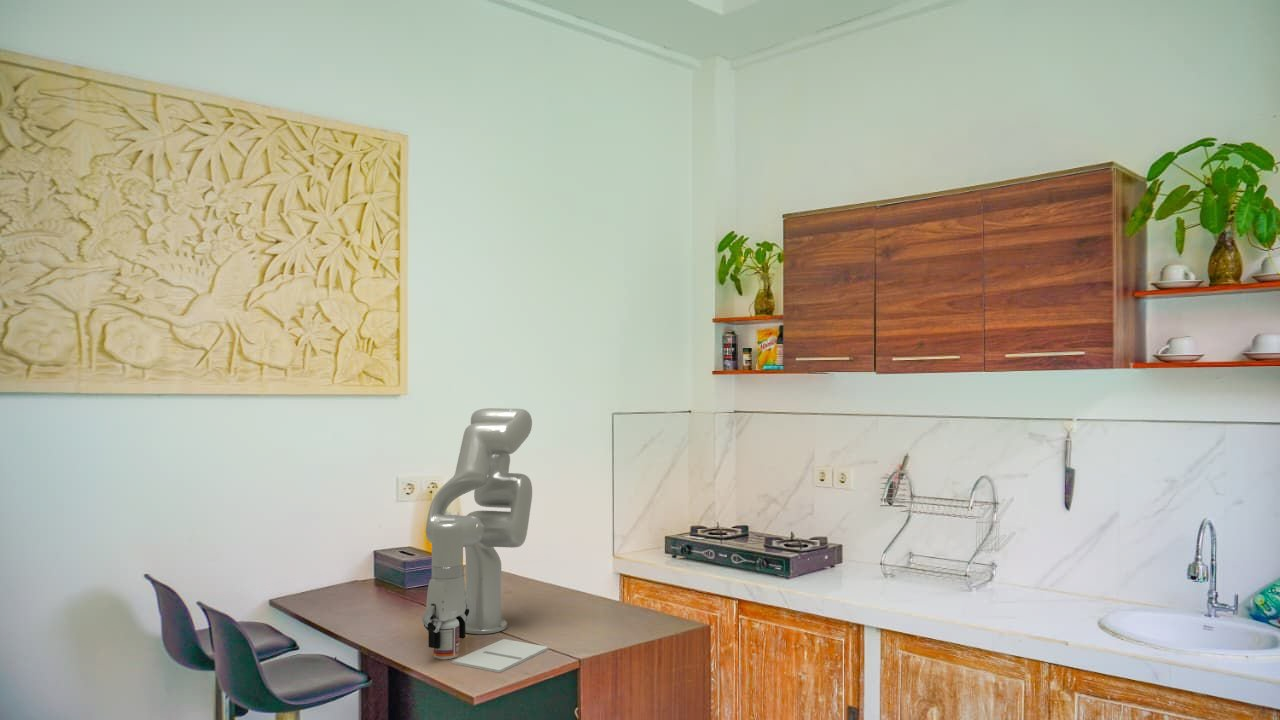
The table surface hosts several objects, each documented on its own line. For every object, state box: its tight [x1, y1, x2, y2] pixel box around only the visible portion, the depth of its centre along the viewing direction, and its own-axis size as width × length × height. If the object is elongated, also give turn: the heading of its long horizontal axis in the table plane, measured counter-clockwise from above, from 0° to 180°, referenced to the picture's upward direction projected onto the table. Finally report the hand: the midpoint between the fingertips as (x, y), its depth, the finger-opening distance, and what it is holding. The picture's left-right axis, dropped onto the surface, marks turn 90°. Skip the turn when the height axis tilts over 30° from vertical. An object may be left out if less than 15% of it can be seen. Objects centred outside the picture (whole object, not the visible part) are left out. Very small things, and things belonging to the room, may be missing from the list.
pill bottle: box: [433, 610, 460, 660], centre depth 222 cm, size 6×6×11 cm
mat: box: [451, 638, 550, 674], centre depth 222 cm, size 14×20×1 cm
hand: (447, 642), depth 223 cm, fingers open, 8 cm apart
